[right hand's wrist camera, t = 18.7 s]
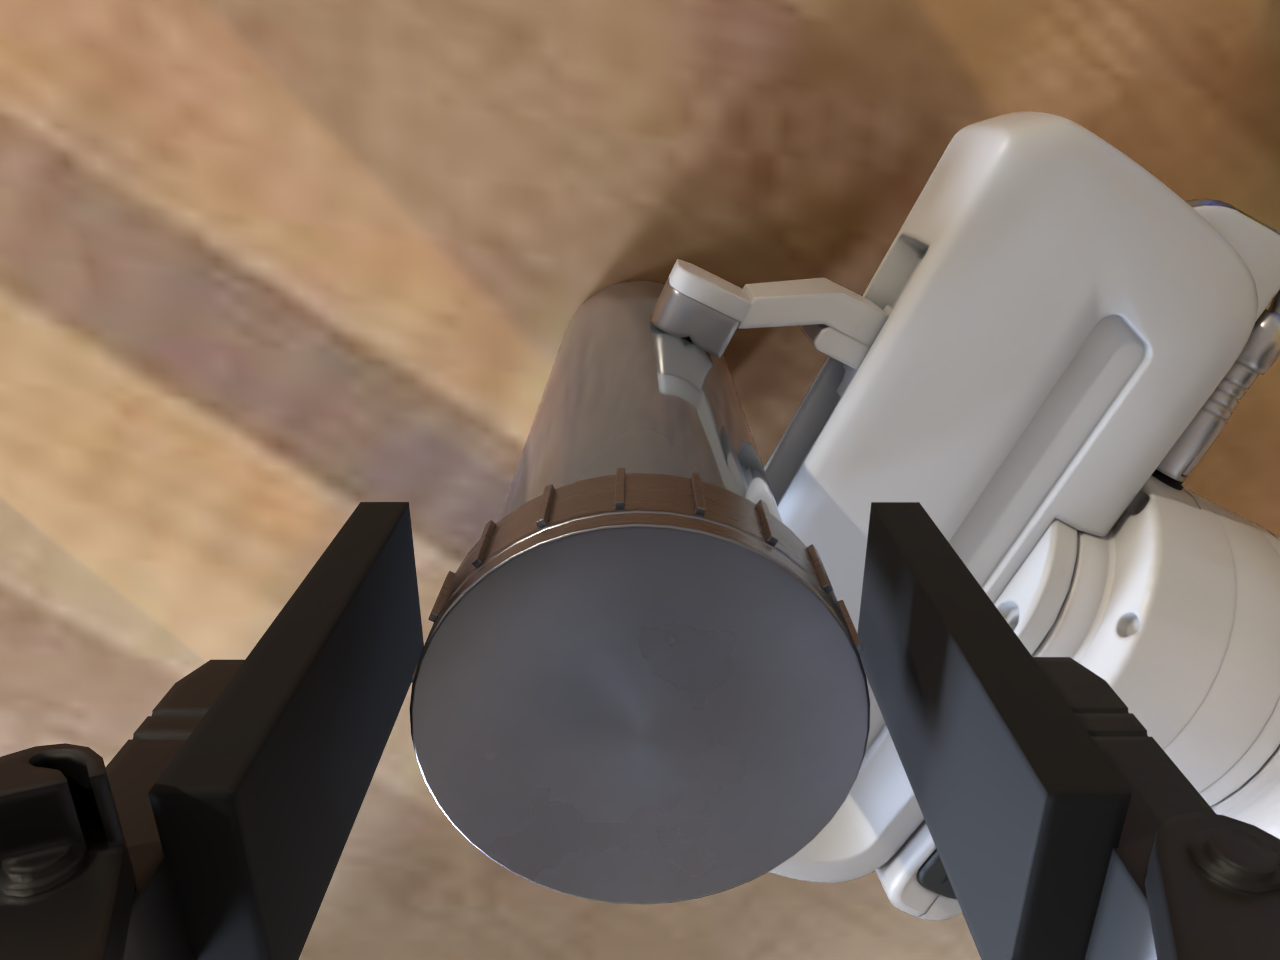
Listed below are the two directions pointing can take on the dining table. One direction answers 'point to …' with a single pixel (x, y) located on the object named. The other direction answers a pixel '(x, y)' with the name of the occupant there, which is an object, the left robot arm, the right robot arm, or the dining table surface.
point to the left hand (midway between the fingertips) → (606, 408)
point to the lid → (640, 691)
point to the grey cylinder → (636, 406)
